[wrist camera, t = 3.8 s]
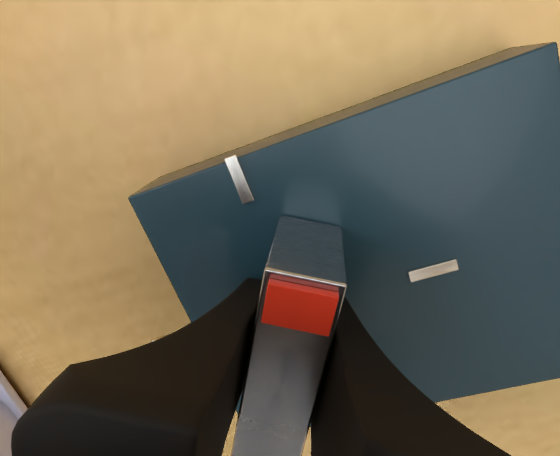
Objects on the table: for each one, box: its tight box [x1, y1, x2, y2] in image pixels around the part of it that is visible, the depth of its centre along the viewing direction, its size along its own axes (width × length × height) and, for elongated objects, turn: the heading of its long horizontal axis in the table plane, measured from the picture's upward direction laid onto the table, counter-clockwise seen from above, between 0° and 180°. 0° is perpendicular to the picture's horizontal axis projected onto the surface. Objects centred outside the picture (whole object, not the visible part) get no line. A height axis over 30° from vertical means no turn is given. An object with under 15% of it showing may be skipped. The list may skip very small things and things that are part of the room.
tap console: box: [128, 42, 560, 427], centre depth 14 cm, size 14×10×3 cm
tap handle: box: [231, 215, 347, 456], centre depth 11 cm, size 6×2×4 cm, turn 170°
